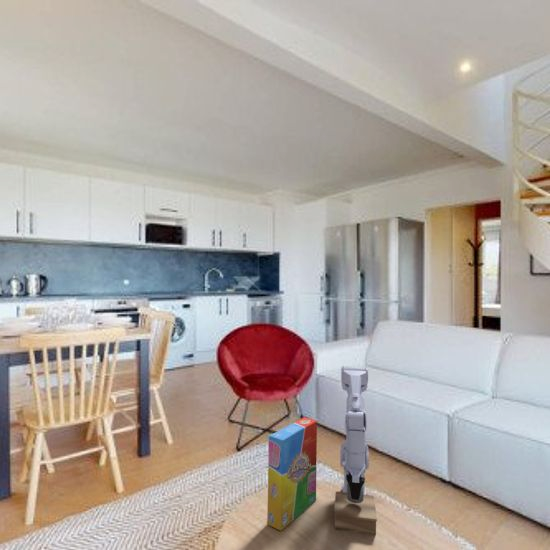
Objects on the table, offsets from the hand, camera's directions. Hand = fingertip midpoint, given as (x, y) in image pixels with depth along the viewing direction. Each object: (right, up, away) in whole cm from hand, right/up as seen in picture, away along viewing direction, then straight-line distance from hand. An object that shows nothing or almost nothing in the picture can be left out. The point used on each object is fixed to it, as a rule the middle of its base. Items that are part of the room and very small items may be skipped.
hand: (355, 493), depth 117 cm
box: (0, -8, 0) cm, 8 cm away
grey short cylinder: (0, -2, 0) cm, 2 cm away
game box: (-19, -8, +4) cm, 21 cm away
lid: (0, -4, 0) cm, 4 cm away
